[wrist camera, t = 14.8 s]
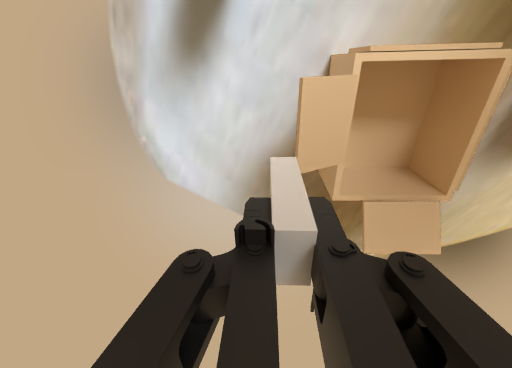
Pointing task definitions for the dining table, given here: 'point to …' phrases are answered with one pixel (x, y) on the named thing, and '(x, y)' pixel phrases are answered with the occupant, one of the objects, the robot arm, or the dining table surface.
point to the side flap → (323, 120)
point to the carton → (415, 118)
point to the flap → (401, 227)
